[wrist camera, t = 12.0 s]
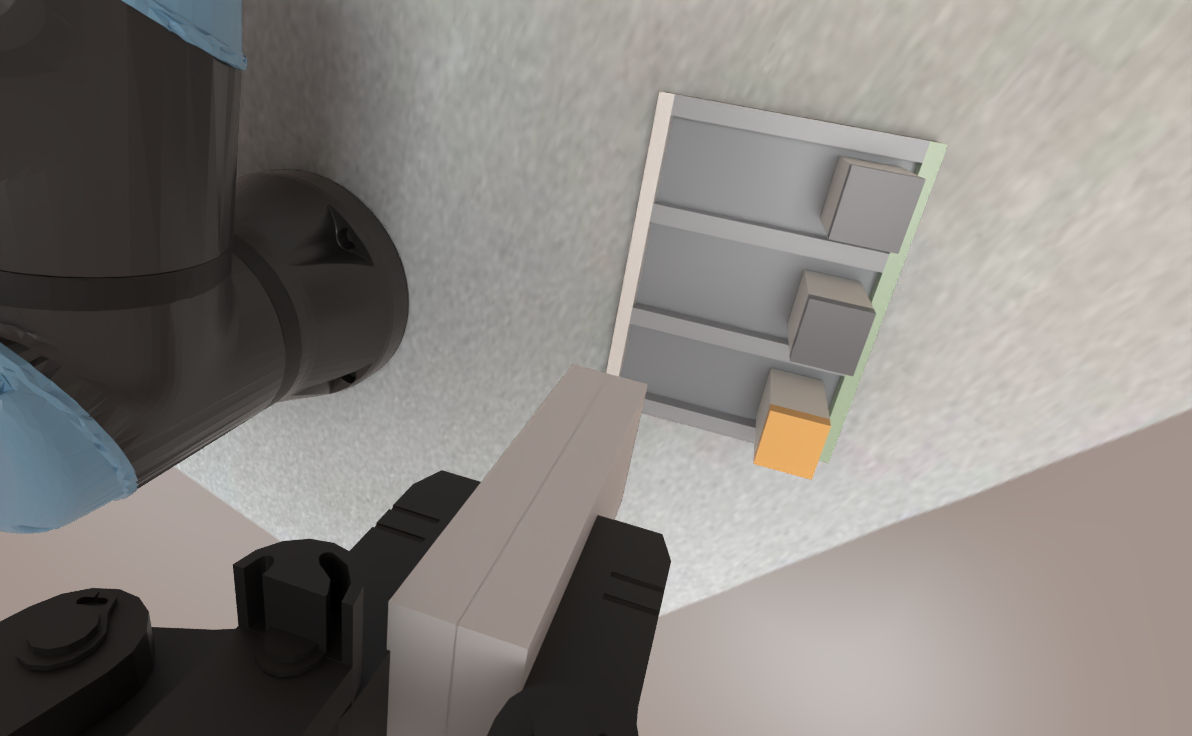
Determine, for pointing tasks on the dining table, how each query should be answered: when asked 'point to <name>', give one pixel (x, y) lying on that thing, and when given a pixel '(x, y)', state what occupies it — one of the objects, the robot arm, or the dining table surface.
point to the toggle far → (791, 424)
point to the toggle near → (870, 204)
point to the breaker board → (743, 257)
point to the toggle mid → (829, 323)
